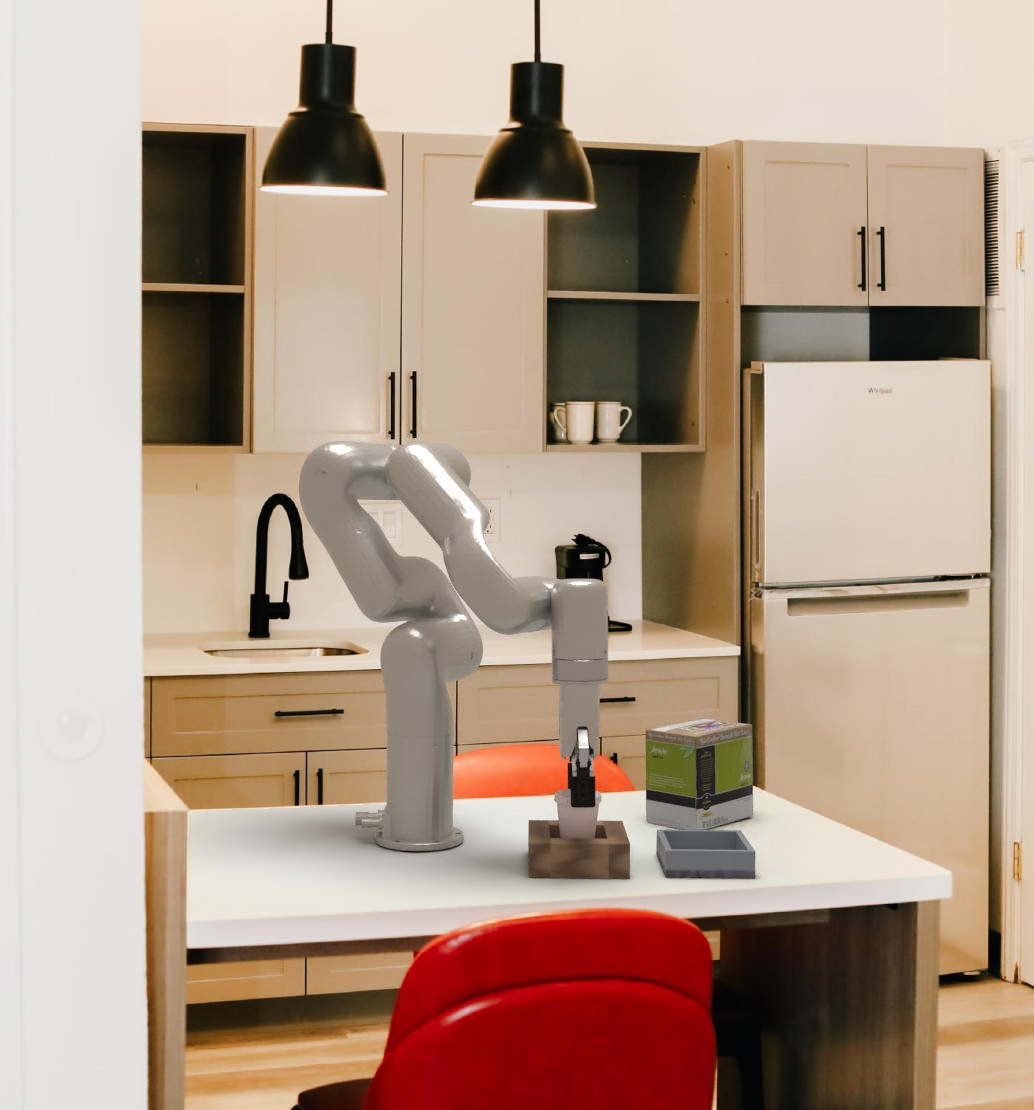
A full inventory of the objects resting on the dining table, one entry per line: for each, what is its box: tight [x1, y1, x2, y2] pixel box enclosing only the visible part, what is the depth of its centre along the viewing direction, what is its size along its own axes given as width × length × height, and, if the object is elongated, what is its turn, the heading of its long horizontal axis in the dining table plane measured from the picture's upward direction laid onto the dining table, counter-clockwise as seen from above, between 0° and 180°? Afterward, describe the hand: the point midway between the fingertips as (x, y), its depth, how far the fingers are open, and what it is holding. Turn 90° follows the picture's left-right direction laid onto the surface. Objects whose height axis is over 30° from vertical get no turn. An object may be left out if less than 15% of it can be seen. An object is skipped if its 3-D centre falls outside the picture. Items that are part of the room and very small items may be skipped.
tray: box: [655, 829, 756, 879], centre depth 180 cm, size 12×12×4 cm
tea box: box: [645, 717, 754, 830], centre depth 207 cm, size 15×10×15 cm
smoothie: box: [553, 788, 603, 839], centre depth 180 cm, size 6×6×14 cm
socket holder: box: [527, 819, 631, 880], centre depth 180 cm, size 13×13×4 cm
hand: (581, 799), depth 180 cm, fingers open, 9 cm apart
